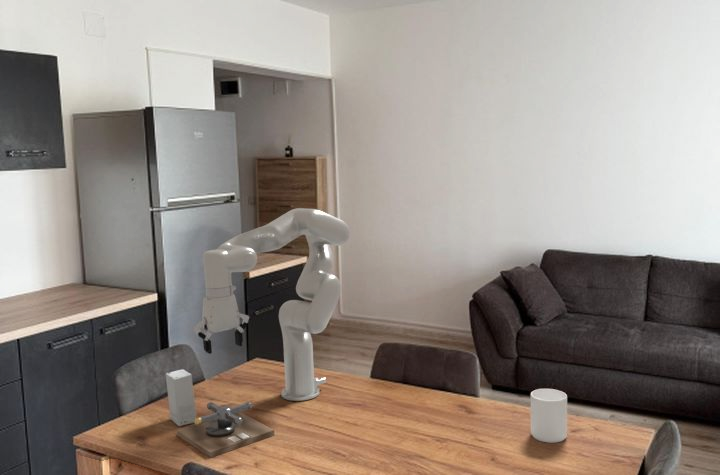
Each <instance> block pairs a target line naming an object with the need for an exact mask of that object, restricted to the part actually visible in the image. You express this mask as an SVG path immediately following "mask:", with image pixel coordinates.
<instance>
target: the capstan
mask: <svg viewBox="0 0 720 475" xmlns="http://www.w3.org/2000/svg"><path fill="white" fill-rule="evenodd" d="M206 407H207V409H208V410H209V411H212V413H210V414H206V415H204V416H200V417H197V416H196V419H195V420H194V423H193V424H194V425H197V426H199V425H201V424H203V423H206V422H209V421H213V420H216V419H217V422H215V423H212V424H209V425H208V426H207V427H206V434H207V435H208V436H212V437H221V436H226V435H229V434H231V433H233V432H234V430H235V425H234V423H235V424H236V425H241V424H242V422H243V420H242V418H240V417H238V416H236V415H234V414H235V413H238V412H241V413H242V412H243V411H248V410H251V409H252V408H253V403H252V402H251V401H247V402H246V403H242V404H239V405H236V406H233V407H231V406H230V405H220V406H219V405H217V404H215V403H214V402H212V401H209V402H207V404H206ZM232 422H233V423H232Z"/></svg>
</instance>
